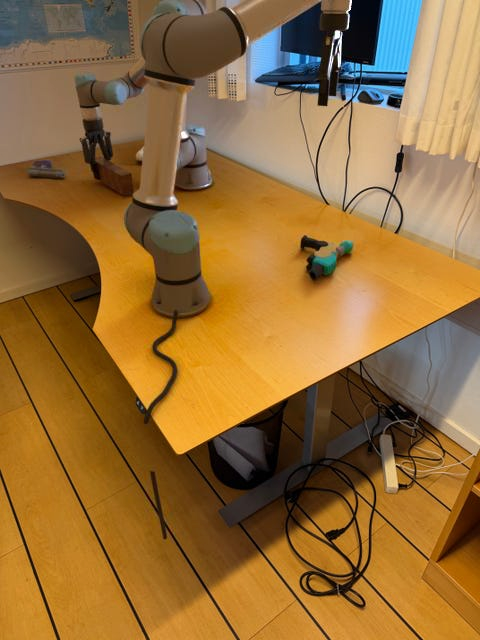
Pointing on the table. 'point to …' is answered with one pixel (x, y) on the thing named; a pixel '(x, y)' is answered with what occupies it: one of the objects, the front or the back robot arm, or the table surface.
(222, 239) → the table surface
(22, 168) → the table surface
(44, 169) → the toy gun
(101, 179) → the bar
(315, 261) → the toy gun
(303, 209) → the table surface
